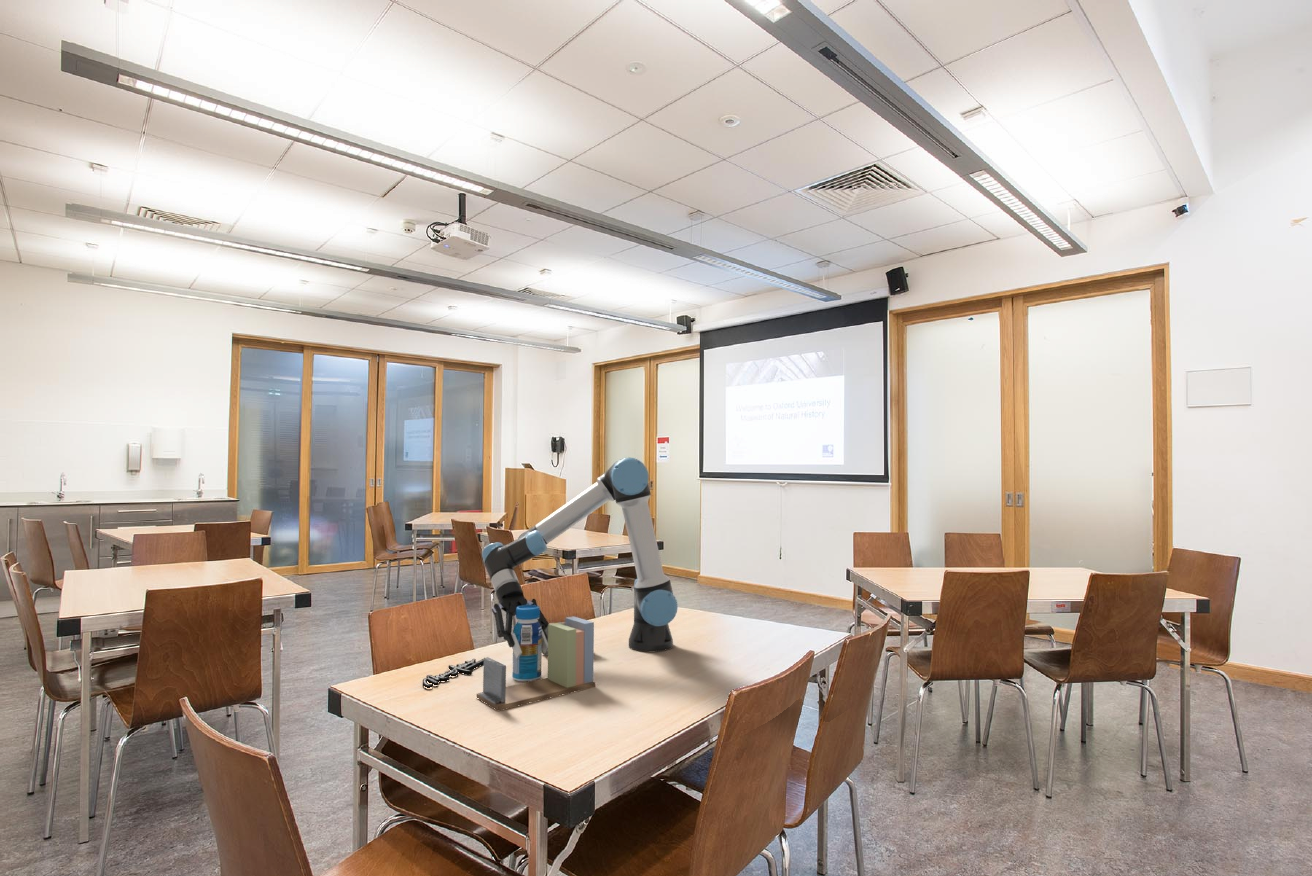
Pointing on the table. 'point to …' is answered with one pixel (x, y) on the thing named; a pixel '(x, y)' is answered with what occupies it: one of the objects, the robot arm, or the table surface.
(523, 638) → the beverage bottle
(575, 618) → the book row
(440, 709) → the table surface
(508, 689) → the shelf board
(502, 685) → the bookend
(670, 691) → the table surface
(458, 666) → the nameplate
